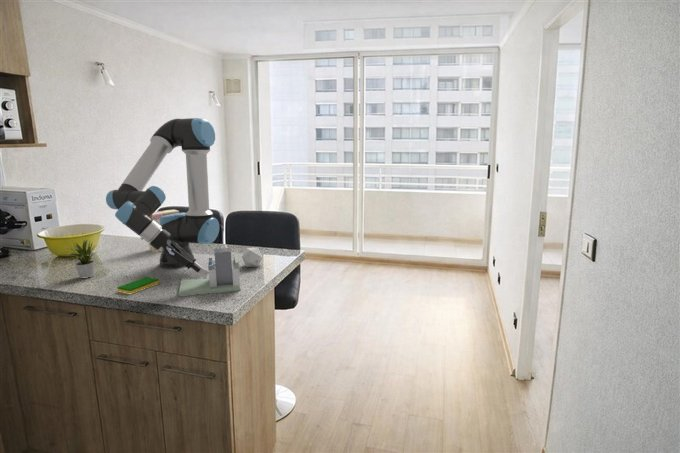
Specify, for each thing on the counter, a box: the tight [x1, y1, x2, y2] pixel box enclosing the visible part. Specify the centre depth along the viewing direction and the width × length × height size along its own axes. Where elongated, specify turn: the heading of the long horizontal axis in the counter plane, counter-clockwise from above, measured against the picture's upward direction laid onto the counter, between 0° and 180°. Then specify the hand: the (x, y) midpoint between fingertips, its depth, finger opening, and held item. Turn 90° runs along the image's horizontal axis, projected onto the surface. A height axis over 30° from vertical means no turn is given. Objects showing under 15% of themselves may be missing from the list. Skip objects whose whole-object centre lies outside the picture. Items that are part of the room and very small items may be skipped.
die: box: [241, 247, 263, 268], centre depth 198 cm, size 8×9×10 cm
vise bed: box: [178, 253, 241, 297], centre depth 171 cm, size 14×22×11 cm, turn 105°
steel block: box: [214, 247, 233, 286], centre depth 171 cm, size 6×6×13 cm
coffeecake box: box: [148, 209, 180, 253], centre depth 229 cm, size 15×7×20 cm, turn 133°
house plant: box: [65, 238, 98, 278], centre depth 185 cm, size 14×14×16 cm
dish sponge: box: [116, 276, 160, 293], centre depth 172 cm, size 7×14×2 cm, turn 156°
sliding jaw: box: [207, 257, 217, 288], centre depth 171 cm, size 13×2×8 cm, turn 15°
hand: (206, 275), depth 170 cm, fingers closed
